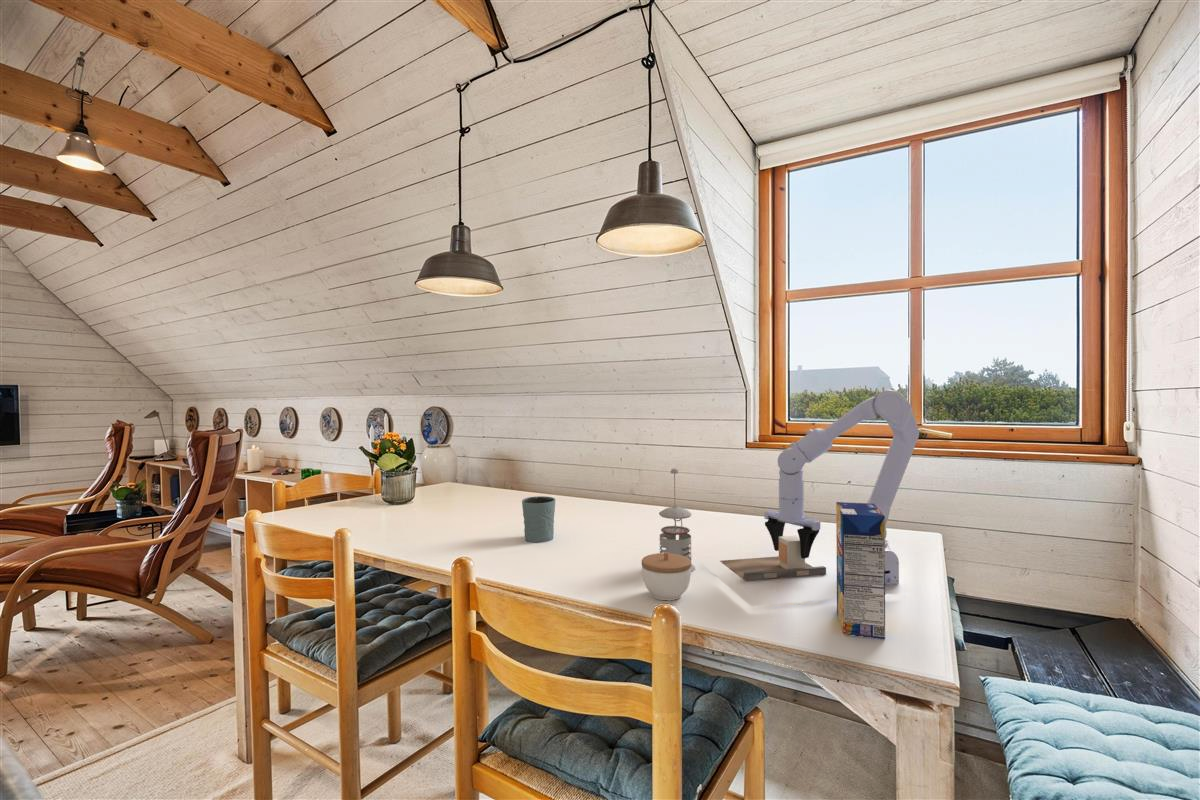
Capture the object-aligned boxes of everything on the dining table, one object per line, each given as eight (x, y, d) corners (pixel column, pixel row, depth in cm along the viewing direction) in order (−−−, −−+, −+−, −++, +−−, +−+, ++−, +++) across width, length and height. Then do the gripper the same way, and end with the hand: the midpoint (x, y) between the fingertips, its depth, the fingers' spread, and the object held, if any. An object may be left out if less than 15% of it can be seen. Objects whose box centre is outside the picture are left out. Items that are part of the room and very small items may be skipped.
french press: (652, 572, 136) (651, 470, 135) (660, 558, 147) (659, 464, 146) (693, 575, 133) (692, 471, 132) (698, 561, 144) (697, 465, 144)
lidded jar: (672, 609, 113) (671, 563, 113) (631, 596, 120) (631, 553, 120) (701, 594, 121) (700, 551, 121) (661, 583, 128) (661, 543, 128)
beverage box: (843, 635, 100) (842, 514, 100) (836, 611, 111) (836, 501, 110) (885, 639, 98) (884, 516, 98) (874, 615, 109) (874, 503, 108)
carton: (795, 563, 137) (795, 535, 137) (805, 569, 133) (804, 540, 133) (777, 564, 136) (777, 536, 136) (786, 570, 132) (786, 541, 132)
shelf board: (826, 579, 129) (826, 567, 129) (745, 586, 125) (745, 574, 125) (792, 559, 144) (792, 549, 144) (719, 565, 140) (719, 554, 140)
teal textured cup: (547, 532, 175) (546, 494, 174) (561, 540, 166) (561, 500, 166) (517, 537, 169) (516, 498, 169) (530, 545, 161) (529, 504, 160)
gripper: (828, 500, 131) (828, 558, 131) (776, 491, 142) (777, 544, 143) (810, 504, 126) (810, 563, 127) (758, 494, 138) (759, 548, 139)
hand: (791, 553), depth 135 cm, fingers open, 7 cm apart
